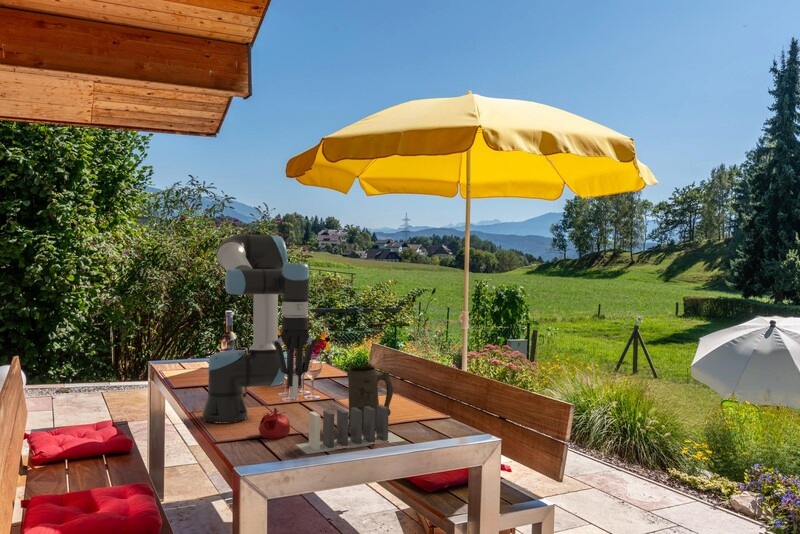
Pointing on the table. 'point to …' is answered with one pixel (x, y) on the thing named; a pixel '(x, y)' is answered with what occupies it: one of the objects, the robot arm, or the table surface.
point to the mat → (323, 448)
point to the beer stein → (367, 390)
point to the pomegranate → (274, 425)
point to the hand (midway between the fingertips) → (293, 397)
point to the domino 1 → (314, 430)
